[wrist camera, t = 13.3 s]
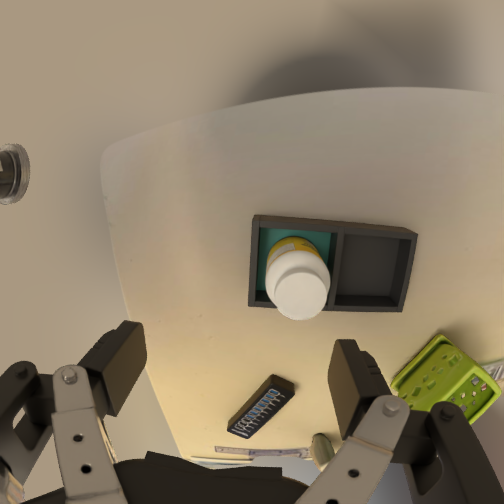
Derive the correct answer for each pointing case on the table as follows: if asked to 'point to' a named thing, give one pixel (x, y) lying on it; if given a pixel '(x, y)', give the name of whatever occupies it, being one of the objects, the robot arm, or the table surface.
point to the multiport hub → (261, 407)
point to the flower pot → (445, 380)
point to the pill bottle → (296, 278)
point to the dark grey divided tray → (341, 261)
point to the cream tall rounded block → (321, 451)
